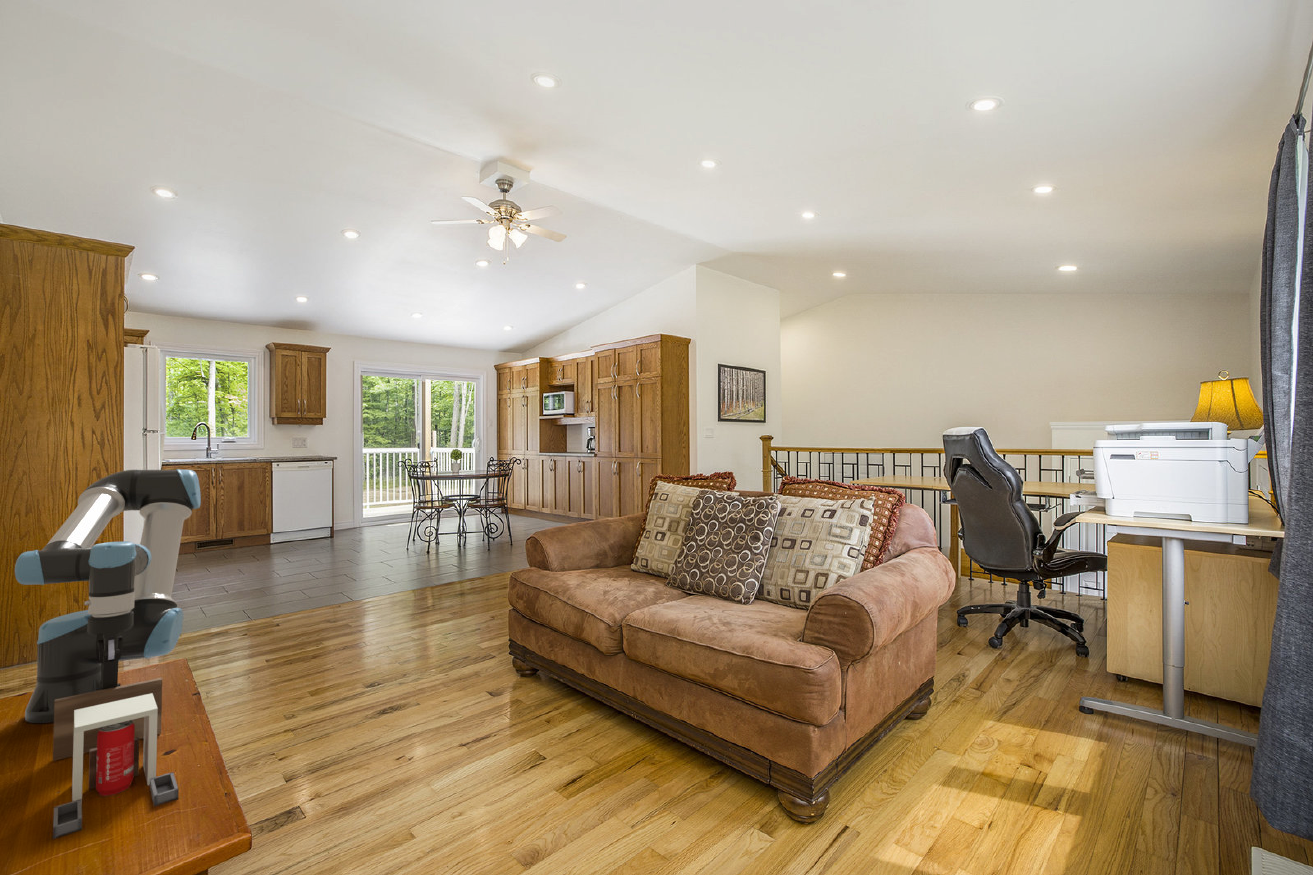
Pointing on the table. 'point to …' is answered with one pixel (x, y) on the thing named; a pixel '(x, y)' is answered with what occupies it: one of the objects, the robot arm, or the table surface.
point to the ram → (66, 727)
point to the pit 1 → (67, 818)
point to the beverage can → (115, 758)
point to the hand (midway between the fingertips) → (107, 720)
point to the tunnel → (113, 715)
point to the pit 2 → (163, 789)
